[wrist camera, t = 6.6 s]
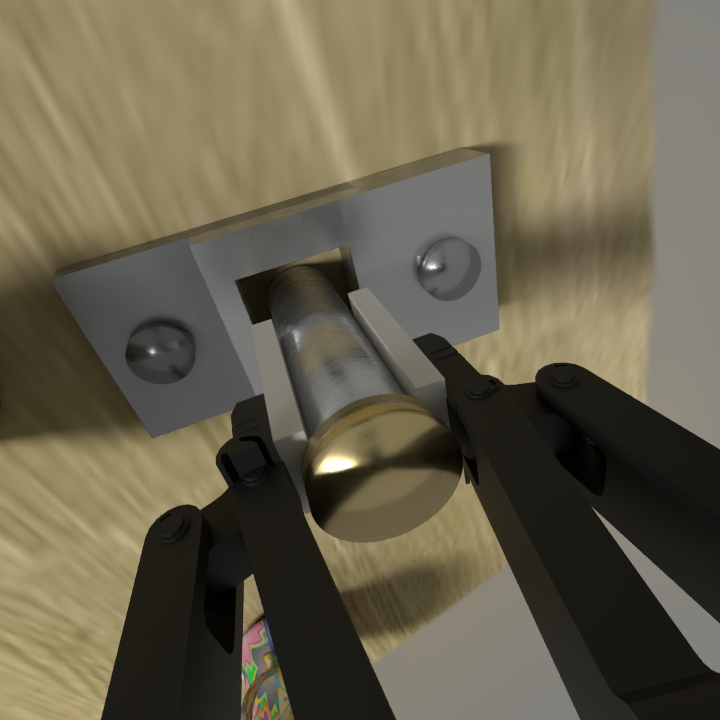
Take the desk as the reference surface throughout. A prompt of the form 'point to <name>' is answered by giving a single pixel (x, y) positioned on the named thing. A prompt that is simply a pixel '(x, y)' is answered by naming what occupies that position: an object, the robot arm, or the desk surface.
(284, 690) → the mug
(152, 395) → the grey slotted base plate
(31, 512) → the desk surface
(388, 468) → the pin
